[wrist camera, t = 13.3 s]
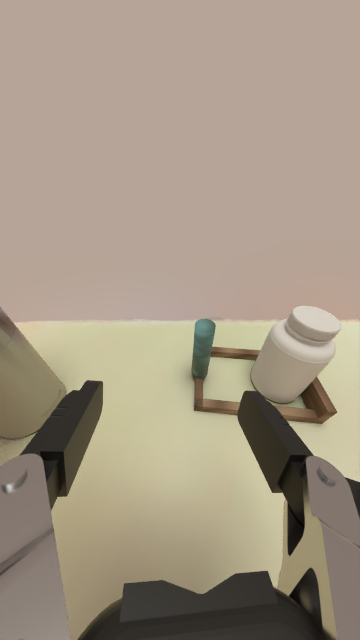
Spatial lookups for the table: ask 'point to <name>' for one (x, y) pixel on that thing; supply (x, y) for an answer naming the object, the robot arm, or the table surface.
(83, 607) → the table surface
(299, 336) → the pill bottle
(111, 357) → the table surface
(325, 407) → the brown wooden frame
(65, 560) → the table surface
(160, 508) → the table surface
